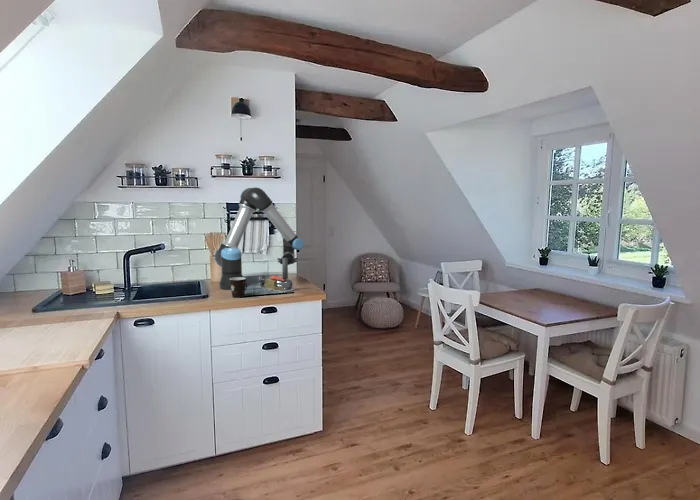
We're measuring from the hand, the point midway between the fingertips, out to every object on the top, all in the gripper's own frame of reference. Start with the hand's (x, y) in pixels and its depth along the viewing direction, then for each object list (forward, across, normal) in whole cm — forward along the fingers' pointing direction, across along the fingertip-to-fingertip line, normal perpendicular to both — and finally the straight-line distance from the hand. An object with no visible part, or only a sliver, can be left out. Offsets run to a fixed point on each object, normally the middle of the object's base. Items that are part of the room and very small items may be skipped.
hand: (285, 263), depth 248 cm
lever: (+9, +3, -8) cm, 12 cm away
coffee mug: (+25, +24, -14) cm, 38 cm away
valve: (+5, +7, -14) cm, 16 cm away
